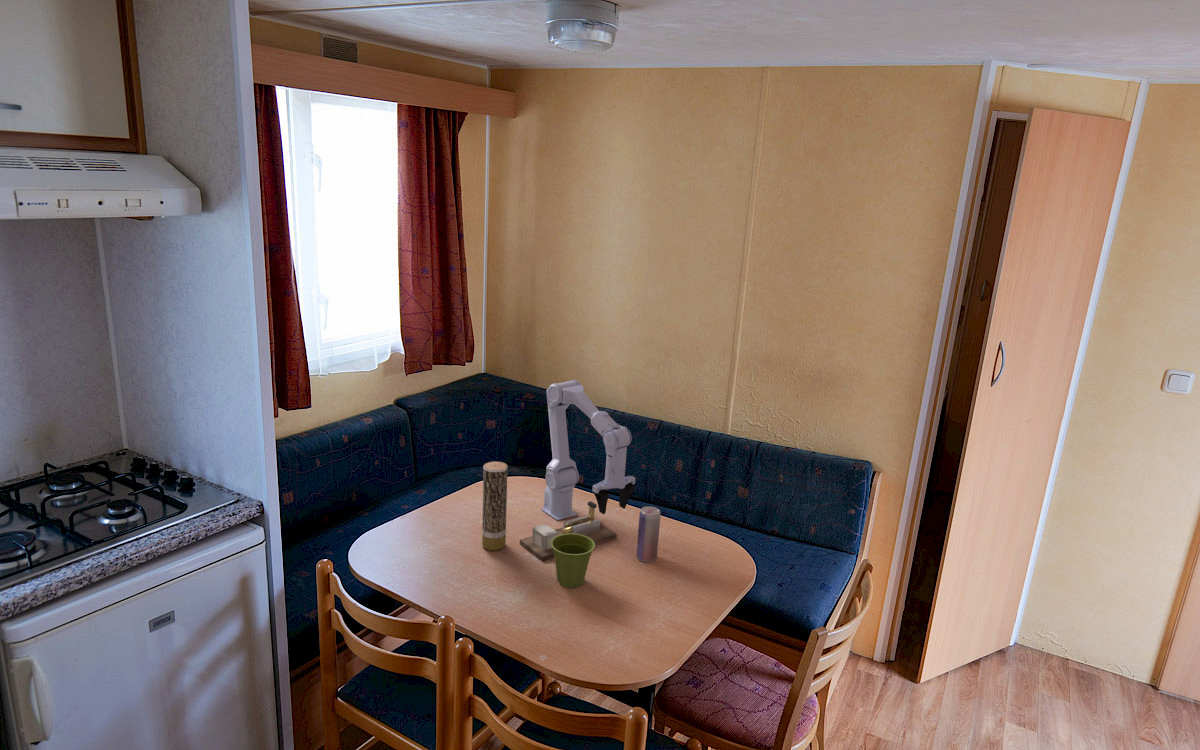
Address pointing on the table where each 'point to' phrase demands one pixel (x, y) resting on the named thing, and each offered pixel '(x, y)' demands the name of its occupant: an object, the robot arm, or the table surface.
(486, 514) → the brown tall cylinder
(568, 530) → the sliding latch bolt
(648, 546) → the beverage can
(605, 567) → the table surface
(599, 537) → the base board
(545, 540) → the socket block
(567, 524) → the sleeve
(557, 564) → the plant pot
